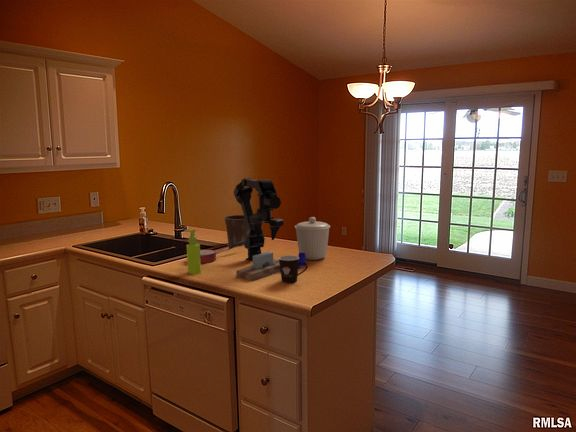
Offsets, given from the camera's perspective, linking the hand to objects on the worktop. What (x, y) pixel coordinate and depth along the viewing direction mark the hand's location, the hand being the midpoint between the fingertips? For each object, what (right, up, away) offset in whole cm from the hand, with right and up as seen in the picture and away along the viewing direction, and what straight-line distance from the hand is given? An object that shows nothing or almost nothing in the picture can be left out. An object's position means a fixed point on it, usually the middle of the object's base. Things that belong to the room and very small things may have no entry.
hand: (265, 238), depth 208 cm
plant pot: (-19, -6, +51) cm, 55 cm away
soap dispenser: (-33, -15, -9) cm, 37 cm away
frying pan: (-26, -11, +20) cm, 35 cm away
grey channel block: (0, -15, -11) cm, 19 cm away
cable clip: (+15, -14, -4) cm, 21 cm away
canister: (+23, -11, +14) cm, 29 cm away
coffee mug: (+12, -17, -25) cm, 33 cm away
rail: (0, -15, -11) cm, 19 cm away
